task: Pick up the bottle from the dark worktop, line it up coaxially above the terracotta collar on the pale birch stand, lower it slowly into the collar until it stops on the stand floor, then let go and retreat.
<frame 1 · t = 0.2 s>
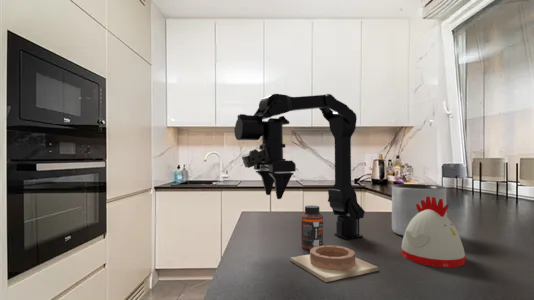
hand: (273, 196, 85), 14 cm above the countertop, fingers open, 9 cm apart
kitchen timer: (431, 258, 76), on the countertop
collar stand: (332, 265, 70), on the countertop
planter: (418, 234, 99), on the countertop
supplement bottle: (312, 248, 85), on the countertop
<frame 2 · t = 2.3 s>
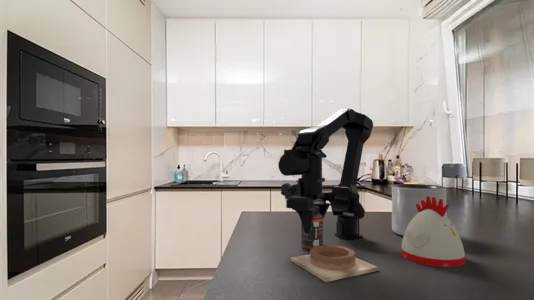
hand: (312, 230, 85), 5 cm above the countertop, fingers closed on supplement bottle, 6 cm apart
supplement bottle: (312, 248, 85), on the countertop, touching gripper
everything else where it was.
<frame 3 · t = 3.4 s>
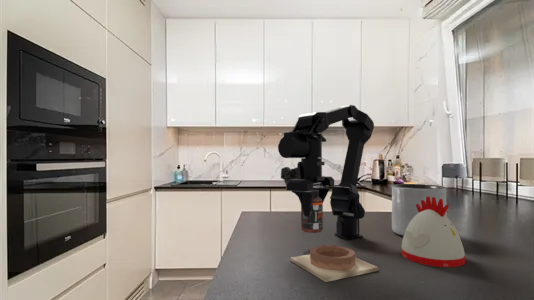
hand: (311, 214, 85), 9 cm above the countertop, fingers closed on supplement bottle, 6 cm apart
supplement bottle: (312, 231, 85), point 4 cm above the countertop, touching gripper
everything else where it was.
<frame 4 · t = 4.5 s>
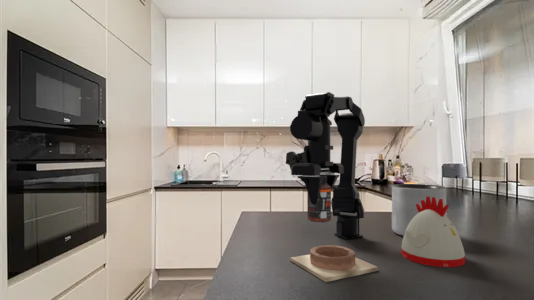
hand: (319, 202, 78), 13 cm above the countertop, fingers closed on supplement bottle, 6 cm apart
supplement bottle: (319, 221, 78), point 8 cm above the countertop, touching gripper
everything else where it was.
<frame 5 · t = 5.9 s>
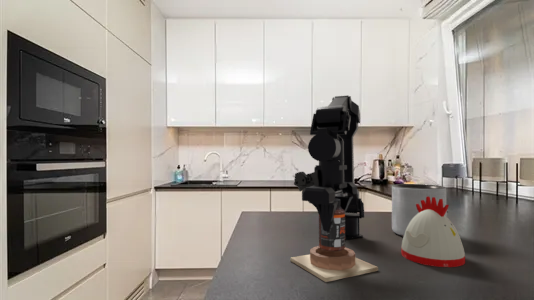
hand: (331, 228, 70), 8 cm above the countertop, fingers closed on supplement bottle, 6 cm apart
supplement bottle: (332, 249, 70), point 4 cm above the countertop, touching gripper
everything else where it was.
when the fingers open (6 cm above the countertop, at t = 7.1 s): supplement bottle stays where it is, resting on collar stand.
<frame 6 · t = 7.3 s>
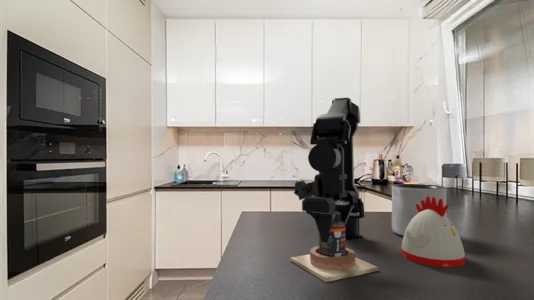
hand: (331, 237, 70), 6 cm above the countertop, fingers open, 8 cm apart
supplement bottle: (332, 262, 70), point 1 cm above the countertop, touching collar stand
everything else where it was.
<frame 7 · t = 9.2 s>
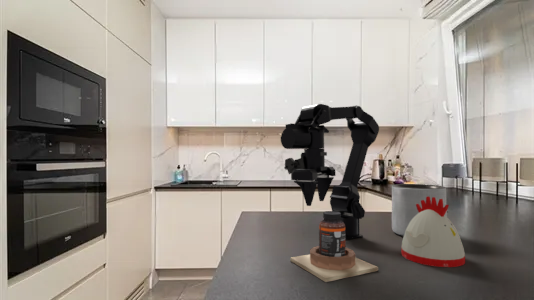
hand: (315, 203, 87), 12 cm above the countertop, fingers open, 9 cm apart
nothing on the countertop moved.
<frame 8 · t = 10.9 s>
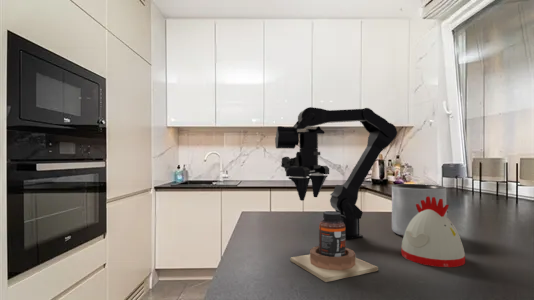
hand: (309, 198, 95), 12 cm above the countertop, fingers open, 9 cm apart
nothing on the countertop moved.
at the end: supplement bottle 0.1 cm off-centre on the collar stand, point 0.6 cm above the collar stand's base; supplement bottle tilted 0°; the gripper is holding nothing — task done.
